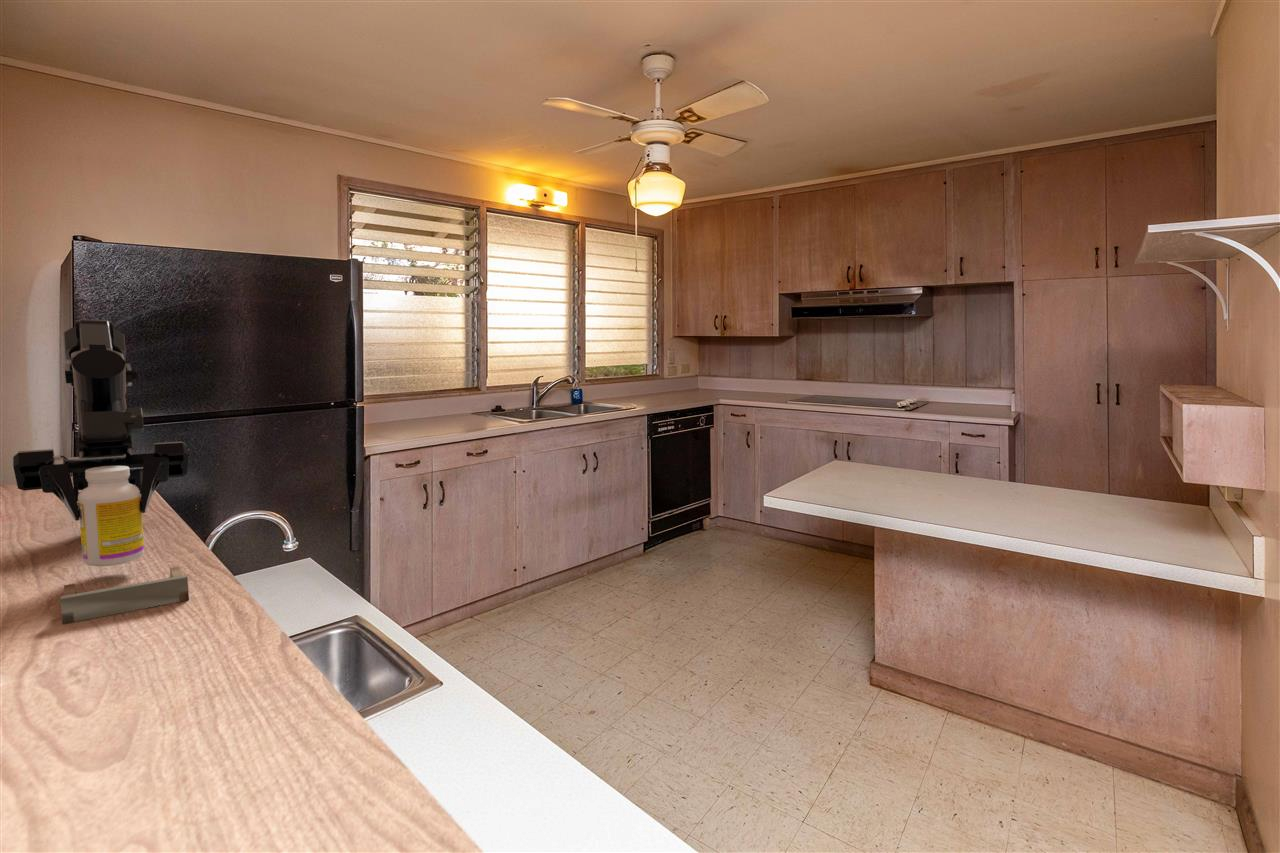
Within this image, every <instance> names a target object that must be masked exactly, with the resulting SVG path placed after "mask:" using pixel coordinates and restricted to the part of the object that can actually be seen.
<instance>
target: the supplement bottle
mask: <svg viewBox="0 0 1280 853" xmlns="http://www.w3.org/2000/svg"><path fill="white" fill-rule="evenodd" d="M129 476H130V469H129V467H127V466H103V467H95V468H90V469H87V470H86V471H85V479H87V482H88V487H87V488H85V489H83V490H80V491H79V492H80V493H79V495H78V501H77V503H78V508H79V529H80V530H79V531H80V542H81V554H82V560H83V563H84V564H86V565H88V566H92V567H112V566H117V565H124V564H127V563H130V562H133V561H134V562H135V561H136V560H137V559H140V558H141V557H142V556H143V555H144V553H145V544H144V543H145V542H144V530H143V528H144V527H143V516H142V514H143V513H142V512H141V494H140V491H139V489H138V487H136V486H135V485H133V484H129V482H128V478H129Z"/></svg>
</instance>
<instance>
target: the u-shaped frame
mask: <svg viewBox="0 0 1280 853" xmlns="http://www.w3.org/2000/svg"><path fill="white" fill-rule="evenodd" d="M169 572H170V573H169V574H170V577H166V578H162V579H154V580H148V581H143V582H137V583H131V584H126V585H119V586H114V587H108V588H101V589H96V590H91V591H85V592H84V591H83V592H78V593H76V586H75V583H71V584H64V585H63V594H62V595H61V596H60V598H59V599H60V600H59V601H60V608H61V620H62V622H61V623H62V625H65V624H70V623H75V622H80V621H86V620H92V619H96V618H102V617H106V616H107V617H108V616H112V615H117V614H123V613H128V612H133V611H138V610H139V611H140V610H144V609H148V607H150V608H153V607H154V606H155V607H159V606H158V605H160V606H164V605H169V604H174V603H181V602H185V601H189V600H190V597H189V596H190V595H189V581H188V579H189V578H188V575H187V574H184V575H183V573H182V571H181V569H180V566H175V567H169ZM155 607H154V608H155Z"/></svg>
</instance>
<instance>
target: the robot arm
mask: <svg viewBox="0 0 1280 853" xmlns="http://www.w3.org/2000/svg"><path fill="white" fill-rule="evenodd" d="M74 324H75V326H73V327H71V328H69V329H67V330H66V331H64V332H63V340H64V355H65V361H70V363H67V362H66V363H65V364H64V377H65V383H66V387H67V388H69V387H70V388H73V394H74V395H75V396H76V401H75V403H76V405H75V406H76V417H77V418H76V420H77V433H76V435H77V436H76V438H77V449H76V456H74V457H73V456H72V457H66V456H64V455H61V454H58V455H55V453H54V452H55V451H54V449H53V448H49V449H34V450H20V451H18V452H17V453H15V454H14V455H13V458H12V463H13V464H12V466H13V471H14V476H15V481H16V485H17V486H16V487H17V490H22V491H25V492H26V491H32V490H33V491H34V490H42V492H43V493H45V494H51V493H52V494H54V495H55V496H56V498H58V499H59V500H60V501H61V502H62V503H63V505H64V506H65V507H66V508H67V511H68V512H69V514H70V515H71V516H72V518H73V520H74V521H76V522H77V521H80V519H79V507H78V495H79V493H80V492H81V491H82V490H83V489H85V488H87V487H88V482H87V479H85V471H86V470H87V469H90V468H95V467H103V466H127V467H129V469H130V476H129V478H128V482H129V484H133V485H135V486H136V487H138V489H139V491H140V499H141V514H145V513H146V511H147V509H148V506H149V504H150V502H151V498H152V496H153V495H154V493H155V492H156V490H157V488H158V487H159V485H160V483H161V484H162V483H166V482H168V481H169V478H180V477H184V476H186V475H188V468H189V467H188V465H189V449H188V445H187V443H185V442H183V441H181V440H180V441H168V442H167V441H166V442H164V441H163V442H153V452H151V453H149V452H147V453H136V454H132V449H133V442H132V434H133V433H144V429H145V426H144V424H145V423H144V414H143V408H142V407H127V400H126V397H125V396H126V395H127V387H132V386H133V384H134V383H133V382H134V381H135V380H137V379H138V375H137V374H138V373H137V372H138V371H137V370H135V369H134V368H133V367H132V366H131V363H126V360H127V349H126V339H125V333H123V332H121V331H120V330H119V329H116V328H115V327H113V326H114V325H113V321H109V320H108V319H89V318H88V319H83V318H80V319H79V320H75V321H74ZM71 475H72V476H71Z"/></svg>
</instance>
